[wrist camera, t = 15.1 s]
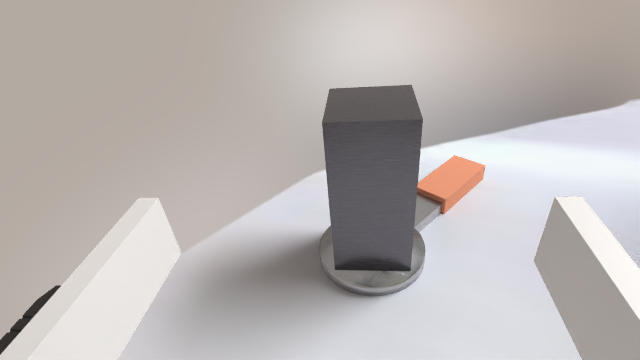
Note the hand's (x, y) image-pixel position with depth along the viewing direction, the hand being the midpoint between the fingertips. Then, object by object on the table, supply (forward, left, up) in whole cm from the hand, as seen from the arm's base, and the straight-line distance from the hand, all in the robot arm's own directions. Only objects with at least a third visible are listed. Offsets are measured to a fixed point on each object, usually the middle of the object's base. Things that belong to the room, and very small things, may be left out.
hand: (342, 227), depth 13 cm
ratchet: (-18, -8, -15) cm, 25 cm away
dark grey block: (-11, -8, -14) cm, 20 cm away
